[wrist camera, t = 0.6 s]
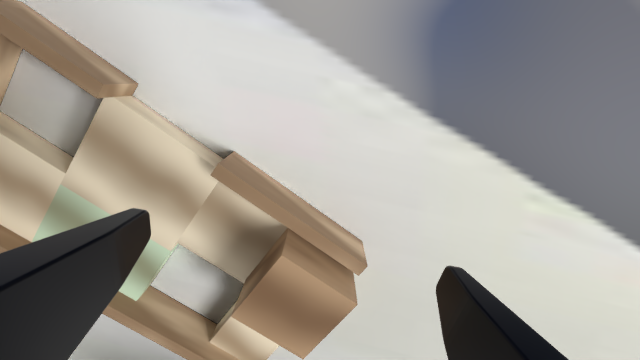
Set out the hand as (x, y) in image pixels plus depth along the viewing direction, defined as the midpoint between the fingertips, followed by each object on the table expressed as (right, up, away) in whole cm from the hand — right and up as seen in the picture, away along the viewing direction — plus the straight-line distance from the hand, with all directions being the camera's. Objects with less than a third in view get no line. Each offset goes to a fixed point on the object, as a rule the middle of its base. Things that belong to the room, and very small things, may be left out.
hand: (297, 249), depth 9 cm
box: (-12, -1, +16) cm, 20 cm away
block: (-1, -5, +15) cm, 15 cm away
